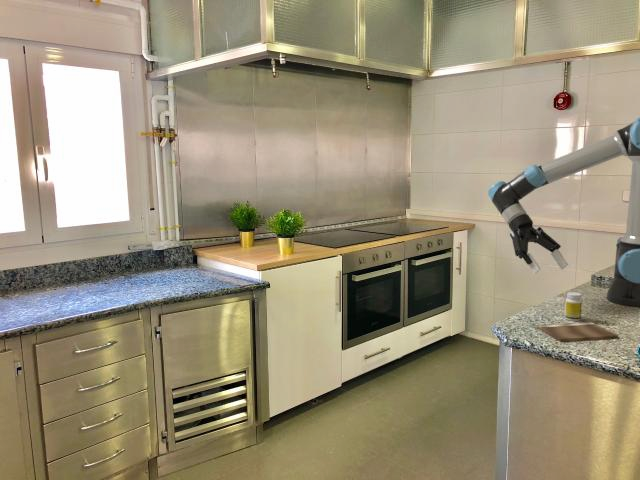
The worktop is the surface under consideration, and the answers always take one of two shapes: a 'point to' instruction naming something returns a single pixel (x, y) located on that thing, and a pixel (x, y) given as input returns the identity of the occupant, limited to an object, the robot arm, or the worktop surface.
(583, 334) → the walnut board
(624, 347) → the worktop surface
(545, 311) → the worktop surface
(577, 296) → the supplement bottle
